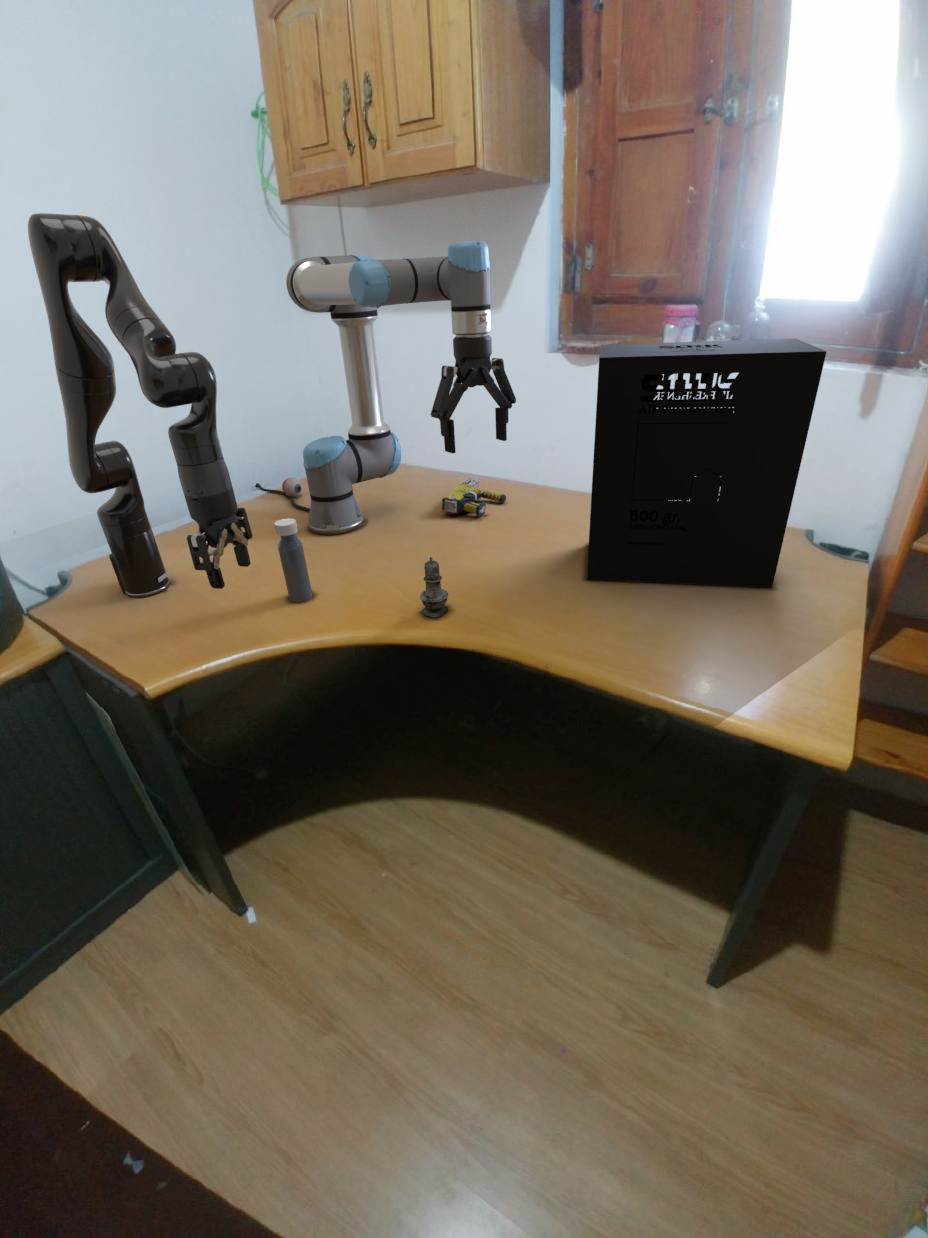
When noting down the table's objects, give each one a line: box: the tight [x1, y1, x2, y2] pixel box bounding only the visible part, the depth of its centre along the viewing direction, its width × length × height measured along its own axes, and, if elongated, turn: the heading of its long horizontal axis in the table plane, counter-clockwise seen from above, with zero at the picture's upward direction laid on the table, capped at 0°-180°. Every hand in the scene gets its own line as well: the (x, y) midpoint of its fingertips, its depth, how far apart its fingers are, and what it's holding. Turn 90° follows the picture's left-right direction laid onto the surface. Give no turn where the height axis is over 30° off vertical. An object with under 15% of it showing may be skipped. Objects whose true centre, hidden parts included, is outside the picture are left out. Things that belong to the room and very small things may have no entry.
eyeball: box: [281, 477, 303, 498], centre depth 192 cm, size 6×6×6 cm
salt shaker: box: [419, 556, 450, 618], centre depth 120 cm, size 6×6×12 cm
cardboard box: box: [586, 338, 828, 589], centre depth 126 cm, size 38×20×45 cm, turn 78°
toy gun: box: [441, 477, 507, 518], centre depth 177 cm, size 5×24×15 cm
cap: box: [274, 517, 299, 537], centre depth 124 cm, size 4×4×2 cm
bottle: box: [277, 533, 313, 603], centre depth 128 cm, size 5×5×17 cm
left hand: (232, 576), depth 106 cm, fingers open, 8 cm apart
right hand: (476, 445), depth 127 cm, fingers open, 13 cm apart
